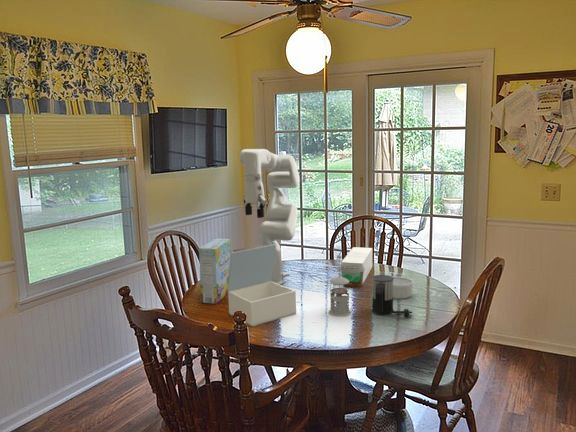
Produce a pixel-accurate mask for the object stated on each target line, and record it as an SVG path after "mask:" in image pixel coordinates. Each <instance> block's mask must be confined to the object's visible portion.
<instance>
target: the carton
mask: <svg viewBox="0 0 576 432" xmlns="http://www.w3.org/2000/svg"><path fill="white" fill-rule="evenodd" d="M227 295H228V298H227V299H228V314H229V315H230V316H232V315H233V313H234V312H236V311H242V312H244V313H246V315H247V319H246V323H245V324H246V325H248V326H250V327H252V328H253V327H257V326H259V325H263V324H265V323H270V322H272V321H276V320H279V319H280V320H281V319H283V318H287V317H290V316H294V315H296V314H297V297H296V296H297V294H296V290H294V289H291V288H290V287H287V286H285V285H283V284H282V285H280V284H277V283H275V282H272V281H270V282H266V283H261V284H256V285H252V286H248V287H244V288H240V289H236V290H232V291H229V292H228V293H227Z"/></svg>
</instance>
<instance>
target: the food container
mask: <svg viewBox="0 0 576 432" xmlns="http://www.w3.org/2000/svg"><path fill="white" fill-rule="evenodd" d="M340 271H341V272H342V273H341V274H342V277H343V278H346V279H347V280H349V283H348V284H346V285H342V286H343V288H346V289H359V288H361V287H362V286H363V284H362V281H363V272H364V271H365V268H364V267H362V268H357V267H353V266H351V267H344V266H342V265H341V264H340Z"/></svg>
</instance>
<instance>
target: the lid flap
mask: <svg viewBox="0 0 576 432" xmlns="http://www.w3.org/2000/svg"><path fill="white" fill-rule="evenodd" d="M275 247H276V244H273V245H268V246H263V245H262V244H260V245H254V246H249V247H248V246H247V247H244V248H239V249H234V250H232V251H231V257H230V268H229V279H228V289H227V291H233V290H237V289H241V288H245V287H249V286H253V285H257V284H260V283H264V282H269V281H271V278H272V270H273V262H274V255H275Z"/></svg>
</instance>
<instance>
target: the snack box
mask: <svg viewBox="0 0 576 432" xmlns="http://www.w3.org/2000/svg"><path fill="white" fill-rule="evenodd" d="M231 249H232V248H231V239H230V238H214V239H212V240H211V241H209V242H207V243H206V244H204V245H203V246H201V247H199V248H198V253H199V254H198V255H199V258H198V259H199V260H198V261H199V285H200V286H199V287H200V303H203V304H215V305H216V304H218V303H219V302H221V300H222V299H223V298H224V297H225V296H226V295H228V292H229V291H227V289H228V279H229V268H230V257H231V253H232V251H231Z"/></svg>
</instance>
